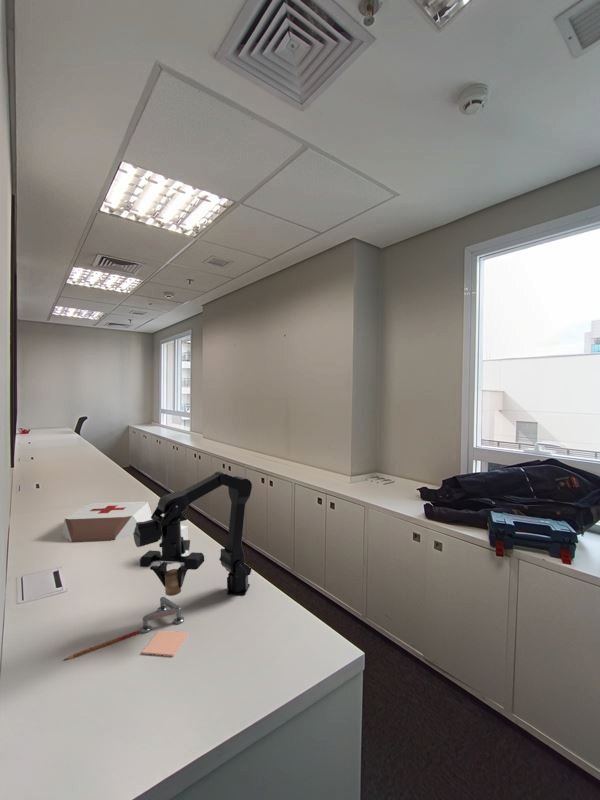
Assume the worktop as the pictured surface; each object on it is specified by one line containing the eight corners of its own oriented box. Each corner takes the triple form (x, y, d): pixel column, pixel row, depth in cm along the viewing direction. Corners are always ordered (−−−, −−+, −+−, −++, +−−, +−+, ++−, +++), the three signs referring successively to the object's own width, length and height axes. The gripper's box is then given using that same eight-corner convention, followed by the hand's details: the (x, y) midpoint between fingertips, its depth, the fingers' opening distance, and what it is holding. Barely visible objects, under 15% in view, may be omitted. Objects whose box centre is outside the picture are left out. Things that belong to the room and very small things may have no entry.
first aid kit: (137, 540, 179) (137, 519, 178) (48, 544, 176) (47, 523, 176) (160, 515, 213) (159, 498, 212) (85, 518, 210) (85, 501, 210)
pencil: (138, 632, 111) (138, 629, 111) (139, 634, 110) (139, 631, 110) (62, 661, 100) (62, 657, 100) (62, 663, 99) (62, 659, 99)
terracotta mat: (188, 634, 109) (188, 632, 109) (173, 656, 100) (173, 654, 100) (159, 632, 110) (158, 630, 110) (141, 653, 101) (141, 652, 101)
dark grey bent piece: (192, 608, 121) (192, 596, 121) (173, 635, 108) (172, 621, 108) (160, 606, 123) (160, 594, 123) (138, 633, 110) (137, 618, 110)
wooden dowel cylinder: (183, 588, 118) (183, 569, 118) (176, 596, 114) (176, 576, 114) (170, 587, 119) (169, 568, 119) (162, 595, 114) (161, 576, 114)
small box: (163, 558, 158) (162, 528, 157) (175, 552, 163) (174, 523, 163) (177, 562, 154) (176, 531, 153) (189, 556, 159) (188, 526, 159)
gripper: (210, 528, 122) (211, 575, 123) (156, 526, 125) (158, 572, 126) (195, 542, 111) (197, 594, 112) (137, 540, 114) (139, 590, 115)
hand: (173, 586), depth 116 cm, fingers closed on wooden dowel cylinder, 5 cm apart
